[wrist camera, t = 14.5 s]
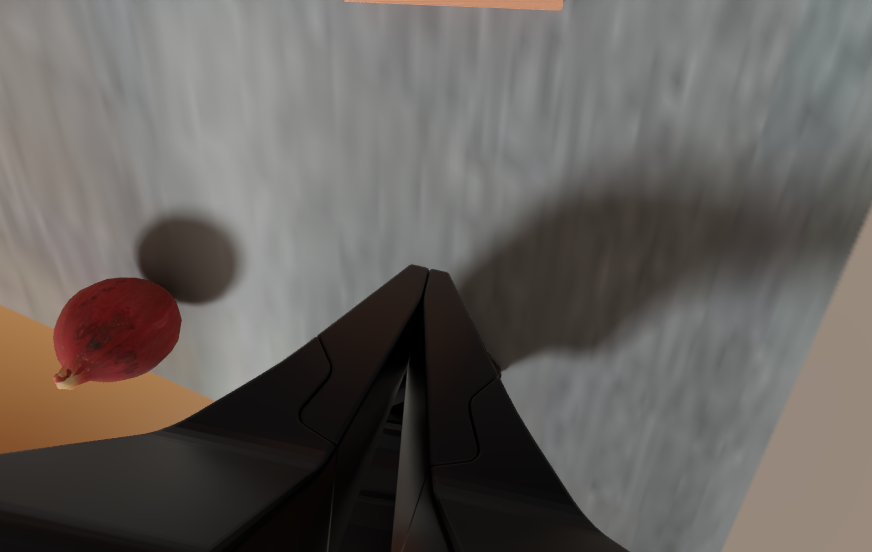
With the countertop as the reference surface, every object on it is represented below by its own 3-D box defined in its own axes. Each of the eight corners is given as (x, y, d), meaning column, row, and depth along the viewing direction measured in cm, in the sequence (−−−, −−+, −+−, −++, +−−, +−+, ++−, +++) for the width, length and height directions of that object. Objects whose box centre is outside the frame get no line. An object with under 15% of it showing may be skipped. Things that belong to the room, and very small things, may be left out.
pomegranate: (138, 234, 26) (18, 324, 20) (221, 294, 28) (138, 393, 22) (104, 284, 29) (-10, 377, 22) (182, 334, 31) (98, 433, 24)
